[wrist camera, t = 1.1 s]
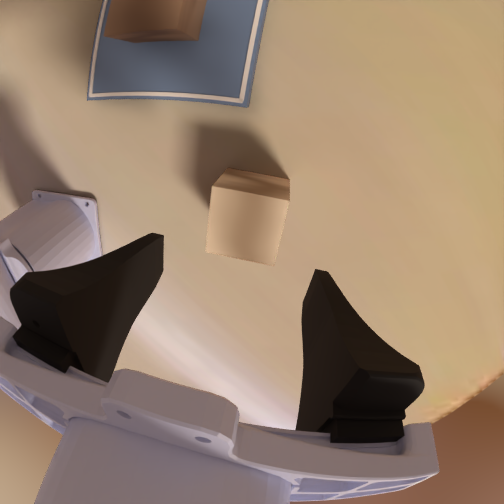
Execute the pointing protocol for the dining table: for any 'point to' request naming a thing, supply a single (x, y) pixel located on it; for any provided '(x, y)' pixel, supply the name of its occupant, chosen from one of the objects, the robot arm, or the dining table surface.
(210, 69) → the board
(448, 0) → the dining table surface
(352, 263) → the dining table surface
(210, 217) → the maple block
